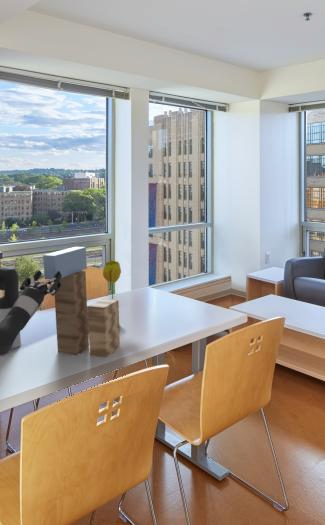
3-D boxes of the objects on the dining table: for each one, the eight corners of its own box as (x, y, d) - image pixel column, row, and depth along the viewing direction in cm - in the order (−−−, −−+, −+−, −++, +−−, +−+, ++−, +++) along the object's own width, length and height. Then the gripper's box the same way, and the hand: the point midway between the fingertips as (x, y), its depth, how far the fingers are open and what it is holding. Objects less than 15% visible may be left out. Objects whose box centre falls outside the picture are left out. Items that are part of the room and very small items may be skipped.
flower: (107, 320, 230) (105, 260, 225) (123, 320, 229) (121, 260, 224) (103, 326, 221) (101, 263, 216) (120, 326, 221) (118, 263, 215)
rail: (56, 279, 173) (54, 255, 171) (44, 279, 174) (43, 255, 173) (86, 268, 193) (85, 247, 191) (76, 268, 195) (75, 246, 193)
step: (106, 357, 182) (104, 307, 179) (90, 355, 185) (88, 306, 181) (119, 347, 193) (118, 299, 190) (104, 345, 196) (102, 298, 192)
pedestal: (77, 355, 185) (73, 275, 180) (57, 352, 189) (53, 274, 183) (88, 347, 194) (85, 271, 188) (70, 344, 197) (66, 269, 191)
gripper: (15, 310, 166) (37, 278, 177) (49, 313, 161) (70, 280, 172) (6, 294, 161) (29, 263, 172) (41, 297, 156) (63, 265, 167)
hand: (49, 272), depth 172 cm, fingers open, 8 cm apart
